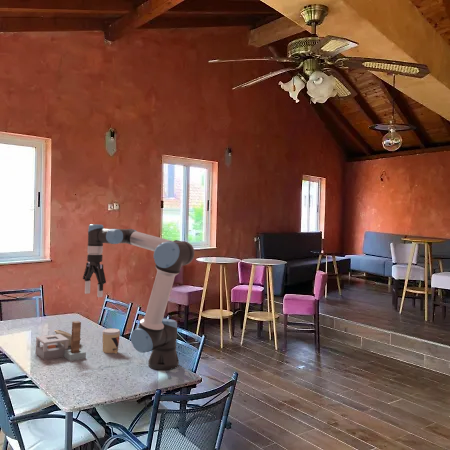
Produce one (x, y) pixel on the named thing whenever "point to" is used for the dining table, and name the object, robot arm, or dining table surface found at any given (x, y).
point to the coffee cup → (111, 340)
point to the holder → (74, 355)
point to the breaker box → (53, 352)
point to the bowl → (64, 336)
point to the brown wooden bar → (75, 337)
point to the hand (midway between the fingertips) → (93, 295)
